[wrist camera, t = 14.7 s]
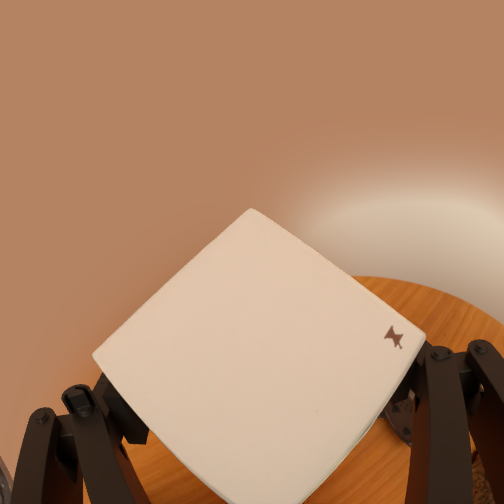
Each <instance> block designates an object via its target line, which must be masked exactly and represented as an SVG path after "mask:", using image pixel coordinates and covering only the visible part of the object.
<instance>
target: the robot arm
mask: <svg viewBox="0 0 504 504" xmlns="http://www.w3.org/2000/svg"><path fill="white" fill-rule="evenodd" d="M481 386H483V388H484V390H483V389H482V387H481ZM410 389H411V390H412V391H413V393H414V394H415V396H414V399H413V402H412V406H411V409H410V412H409V413H412V411H413V423H412V444H411V457H410V467H409V476H408V484H407V491H406V498H405V504H474V503H473V478H472V458H471V446H470V437H469V432H470V434H471V436H472V439H473V441H474V444H475V446H476V449H477V451H478V454H479V457H480V459H481V462H482V465H483V467H484V470H485V473H486V476H487V479H488V482H489V485H490V488H491V491H492V495H493V498H494V502H495V504H504V359H503V357H502V356H501V355H500V354H499V352H498V351H497V350H496V349H495V347H494V346H493V345H492V344H491V343H490V342H488V341H485V340H480V339H479V340H474V341H471V342H470V343H469V345H468V348H467V351H465V352H459V353H453V352H452V351H451V350H450V349H449V348H447V347H444V346H432V345H431V344H430V343H428V342H427V341H426V340H425V341H424V343H423V345H422V347H421V348H420V350H419V352H418V353H417V355H416V357H415V359H414V360H413V362H412V364H411V366H410V367H409V369H408V371H407V372H406V374H405V376H404V377H403V379H402V381H401V382H400V384H399V385H398V387H397V389H396V390H395V392H394V393H393V395H392V396H391V398H390V399H389V401H390V402H391V404H392V405H393V404H396V403H398V402H401V401H404V400H406V399H408V395H409V391H410ZM61 399H62V401H63V403H64V405H65V406H66V408H67V410H68V411H69V413H70V414H68V415H61V416H56V414H55V412H54V411H53V410H52V409H51V408H47V407H44V408H40V409H38V410H36V411H35V412H34V413H32V415H31V416H30V418H29V422H28V425H27V428H26V432H25V435H24V439H23V442H22V446H21V450H20V454H19V458H18V463H17V467H16V472H15V477H14V482H13V487H12V493H11V500H10V504H83V478H84V482H85V485H86V489H87V492H88V496H89V499H90V502H91V504H151V503H150V501H149V499H148V497H147V495H146V493H145V491H144V489H143V487H142V485H141V483H140V481H139V479H138V477H137V475H136V473H135V470H134V468H133V466H132V464H131V462H130V459H129V457H128V455H127V452H126V450H125V448H124V446H123V445H122V443H121V442H122V439H123V435H124V437H125V438H126V440H127V442H128V443H129V444H145V445H146V441H147V437H148V432H149V428H148V426H147V425H146V424H145V423H144V422H143V421H142V420H141V418H140V417H139V416H138V415H137V414H136V413H135V411H134V410H133V409H132V408H131V407H130V406H129V404H128V403H127V402H126V401H125V400H124V398H123V397H122V396H121V395H120V393H119V392H118V391H117V390H116V388H115V387H114V386H113V384H112V383H111V382H110V381H109V379H108V378H107V377H106V375H105V374H104V373H103V372H102V374H101V376H100V378H99V380H98V381H97V384H96V385H95V387H94V389H93V391H91V389H90V387H89V386H87V385H83V384H79V385H74V386H72V387H70V388H68V389H67V390H65V391H64V393H63V394H62V397H61ZM0 504H3V502H2V497H1V493H0Z"/></svg>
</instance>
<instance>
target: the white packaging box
mask: <svg viewBox="0 0 504 504" xmlns="http://www.w3.org/2000/svg"><path fill="white" fill-rule="evenodd" d="M425 339H426V334H425V333H424V332H423V331H422V330H420V329H419V328H418V327H416V326H415V325H414V324H412V323H411V322H410V321H408V320H407V319H406V318H404V317H403V316H402V315H400V314H399V313H398V312H397V311H395V310H394V309H393V308H392V307H390V306H389V305H388V304H386V303H385V302H384V301H382V300H381V299H380V298H378V297H377V296H376V295H375V294H373V293H372V292H371V291H369V290H368V289H366V288H365V287H364V286H362V285H361V284H360V283H358V282H357V281H356V280H355V279H353V278H352V277H351V276H349V275H348V274H347V273H345V272H344V271H342V270H341V269H340V268H338V267H337V266H335V265H334V264H333V263H331V262H330V261H328V260H327V259H326V258H325V257H323V256H322V255H320V254H319V253H317V252H316V251H315V250H313V249H312V248H311V247H309V246H308V245H306V244H305V243H303V242H302V241H300V240H299V239H298V238H296V237H295V236H293V235H292V234H291V233H289V232H288V231H287V230H285V229H284V228H282V227H281V226H279V225H278V224H277V223H275V222H274V221H272V220H271V219H269V218H268V217H266V216H265V215H263V214H261V213H259V212H258V211H256V210H254V209H252V208H251V209H248V210H247V211H246V212H245V213H243V214H242V215H241V216H240V217H239V218H238V219H237V220H236V221H234V222H233V223H232V224H231V225H230V226H229V227H228V228H226V229H225V230H224V231H223V232H222V233H221V234H220V235H219V236H218V237H216V238H215V239H214V240H213V241H212V242H211V243H210V244H208V245H207V246H206V247H205V248H204V249H203V250H202V251H201V252H199V253H198V254H197V255H196V256H195V257H194V258H193V259H192V260H191V261H190V262H188V263H187V264H186V265H185V266H184V267H183V268H182V269H181V270H180V271H179V272H178V273H176V274H175V275H174V276H173V277H172V278H171V279H170V280H169V281H168V282H167V283H166V284H165V285H163V286H162V287H161V288H160V289H159V290H158V291H157V292H156V293H155V294H154V295H153V296H152V297H151V298H150V299H149V300H147V301H146V303H144V304H143V305H142V306H141V307H140V308H139V309H138V310H137V311H136V312H135V313H134V314H133V315H131V316H130V317H129V319H127V320H126V321H125V322H124V323H123V324H122V325H121V326H120V327H119V328H118V329H117V330H116V331H115V332H114V333H113V334H112V335H111V336H110V337H109V338H108V339H107V340H106V341H105V342H104V343H103V344H102V345H100V346H99V347H98V348H97V349H96V350H95V351H94V352H93V354H92V357H93V359H94V360H95V361H96V363H97V364H98V365H99V367H100V368H101V370H102V371H103V373H104V374H105V375H106V377H107V378H108V379H109V381H110V382H111V383H112V384H113V386H114V387H115V388H116V390H117V391H118V392H119V393H120V395H121V396H122V397H123V398H124V400H125V401H126V402H127V403H128V404H129V406H130V407H131V408H132V409H133V410H134V411H135V413H136V414H137V415H138V416H139V417H140V418H141V420H142V421H143V422H144V423H145V424H146V425H147V426H148V428H149V429H150V430H151V431H152V432H153V433H154V434H155V435H156V437H157V438H158V439H159V440H160V441H161V442H162V443H163V444H164V445H165V446H166V447H167V448H168V449H169V450H170V451H171V452H172V453H173V454H174V455H175V456H176V457H177V458H178V459H179V460H180V461H181V462H182V463H183V464H184V465H185V466H186V467H187V468H188V469H189V470H190V471H191V472H192V473H193V474H194V475H196V476H197V477H198V478H199V479H200V480H201V481H202V482H203V483H204V484H206V485H207V486H208V487H209V488H210V489H211V490H213V491H214V492H215V493H216V494H217V495H219V496H220V497H221V498H222V499H223V500H225V501H226V502H227V503H229V504H302V503H303V502H304V501H305V500H306V499H307V498H308V497H309V496H310V495H311V494H312V493H313V492H314V491H315V490H316V489H317V488H318V487H319V486H320V485H321V484H322V483H323V482H324V481H325V480H326V479H327V478H328V476H329V475H330V474H331V473H332V472H333V471H334V470H335V469H336V468H337V467H338V465H339V464H340V463H341V462H342V461H343V460H344V458H345V457H346V456H347V455H348V454H349V453H350V451H351V450H352V449H353V448H354V447H355V446H356V445H357V443H358V442H359V441H360V440H361V439H362V438H363V437H364V435H365V434H366V433H367V432H368V430H369V429H370V428H371V426H372V425H373V423H374V421H375V420H376V418H377V417H378V415H379V414H380V412H381V411H382V410H383V408H384V407H385V405H386V404H387V402H388V401H389V399H390V398H391V396H392V395H393V393H394V392H395V390H396V389H397V387H398V385H399V384H400V382H401V381H402V379H403V377H404V376H405V374H406V372H407V371H408V369H409V367H410V366H411V364H412V362H413V360H414V359H415V357H416V355H417V353H418V352H419V350H420V348H421V347H422V345H423V343H424V341H425Z"/></svg>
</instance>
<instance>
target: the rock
mask: <svg viewBox="0 0 504 504" xmlns="http://www.w3.org/2000/svg"><path fill="white" fill-rule="evenodd" d="M472 478H473V503H474V504H495V502H494V498H493V495H492V491H491V488H490V485H489V482H488V479H487V476H486V473H485V470H484V467H483V465H482V462H481V459H480V457H479V454H478V455H477V457H476V459H475V461H474V463H473V464H472Z"/></svg>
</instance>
